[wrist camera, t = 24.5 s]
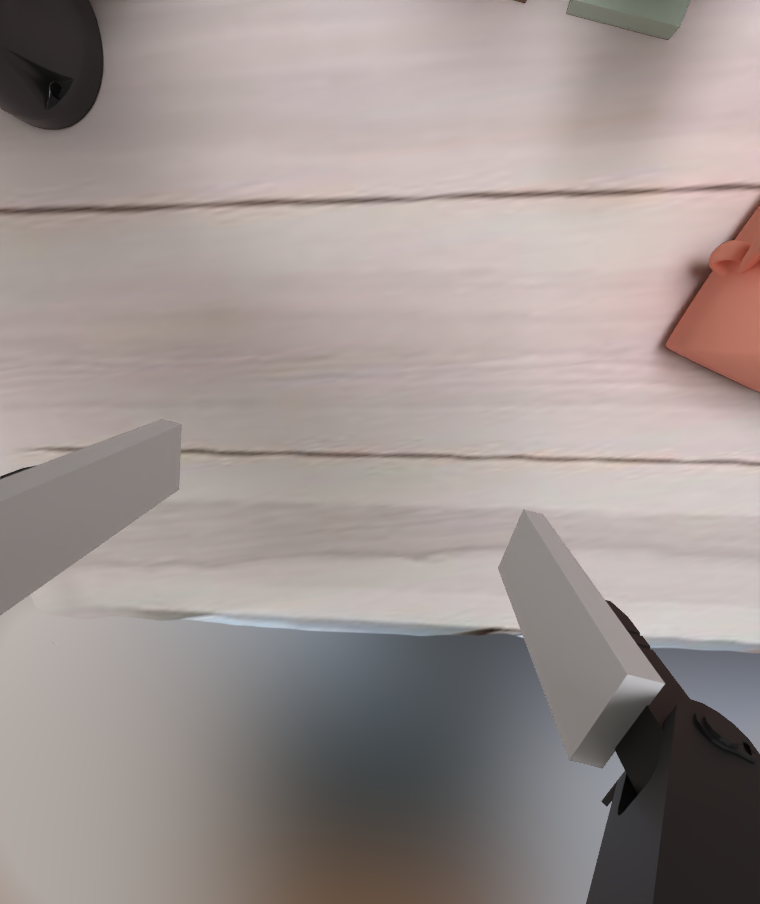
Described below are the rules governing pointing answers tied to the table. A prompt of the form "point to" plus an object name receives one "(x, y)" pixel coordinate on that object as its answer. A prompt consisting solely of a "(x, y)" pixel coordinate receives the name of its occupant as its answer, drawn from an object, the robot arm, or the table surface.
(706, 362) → the teapot
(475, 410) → the table surface
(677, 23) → the short pedestal
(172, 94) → the table surface
